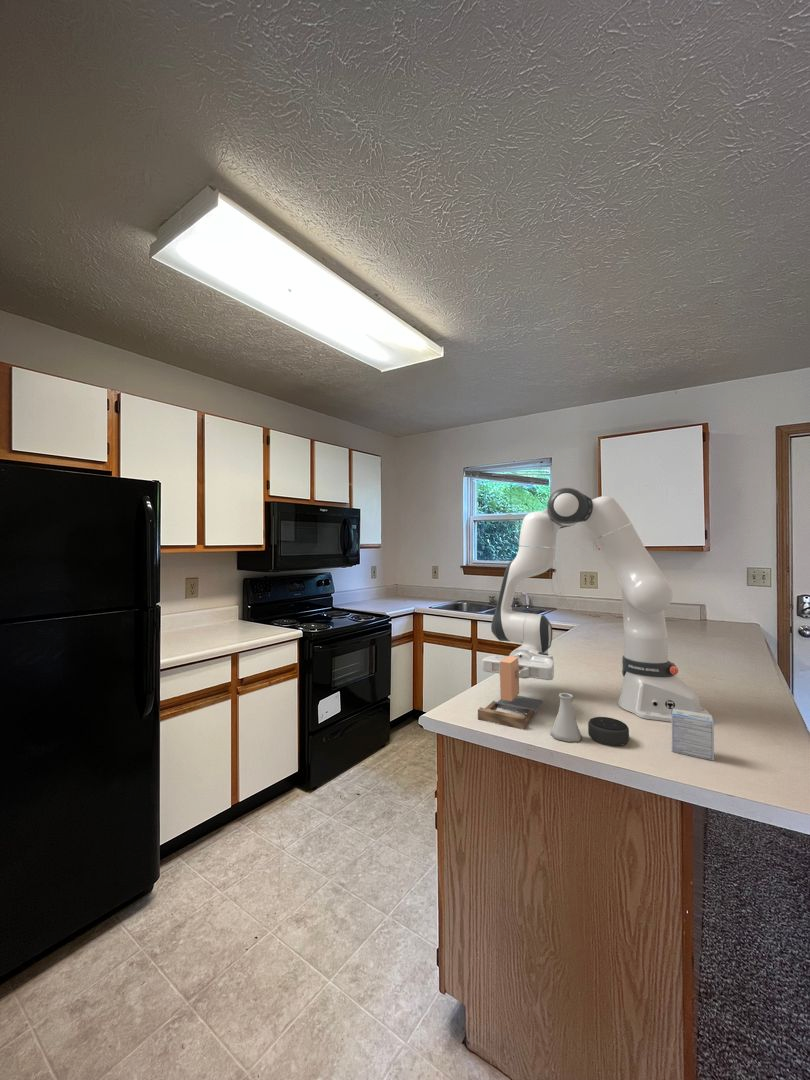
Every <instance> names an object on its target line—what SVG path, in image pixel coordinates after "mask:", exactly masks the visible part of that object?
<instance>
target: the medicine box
mask: <svg viewBox="0 0 810 1080" xmlns="http://www.w3.org/2000/svg"><path fill="white" fill-rule="evenodd" d="M714 725H715V722H714V717H713V715H712V714H710V715H708V714H702V713H697V712H691V711H685V710H679V709H672V714H671V752H672V753H675V754H676V753H677V754H680V755H687V756H690V757H695V758H701V759H704V760H710V761H715V744H714V743H715V737H714V736H715V730H714V729H715V726H714Z"/></svg>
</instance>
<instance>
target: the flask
mask: <svg viewBox="0 0 810 1080" xmlns="http://www.w3.org/2000/svg"><path fill="white" fill-rule="evenodd" d="M558 697H559V699H560V701H559V707H558V712H557V715H556V718H555V720H554V723H553V726H552V728H551V731H550V735H551V737H553V738H554V739H555V740H559V741H564V742H570V743H571V742H573V743H574V742H580V741H581V740H582V737H583V736H582V734H581V731H580V728H579V726H578V723H577V720H576V716H575V713H574V710H573V704H572V702H573V701H572V699H573V698H574V696H573V694H570V693H567V692H562V693H561V692H560V693H559V695H558Z"/></svg>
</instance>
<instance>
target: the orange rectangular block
mask: <svg viewBox="0 0 810 1080" xmlns="http://www.w3.org/2000/svg"><path fill="white" fill-rule="evenodd" d="M506 656H507V657H506V658H504V659H503V660H501V661H500V675H499V686H500V687H499V688H500V689H499V690H500V691H499V693H500V697H499V698H500V699H501V700H507V701H512V700H513V699H514V698H515V697H516V696H517V695H518V696H519V695H520V678H516V677H515V675H516V674H515V671H516V670H519V660H518V657H512V656H509V655H506Z"/></svg>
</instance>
